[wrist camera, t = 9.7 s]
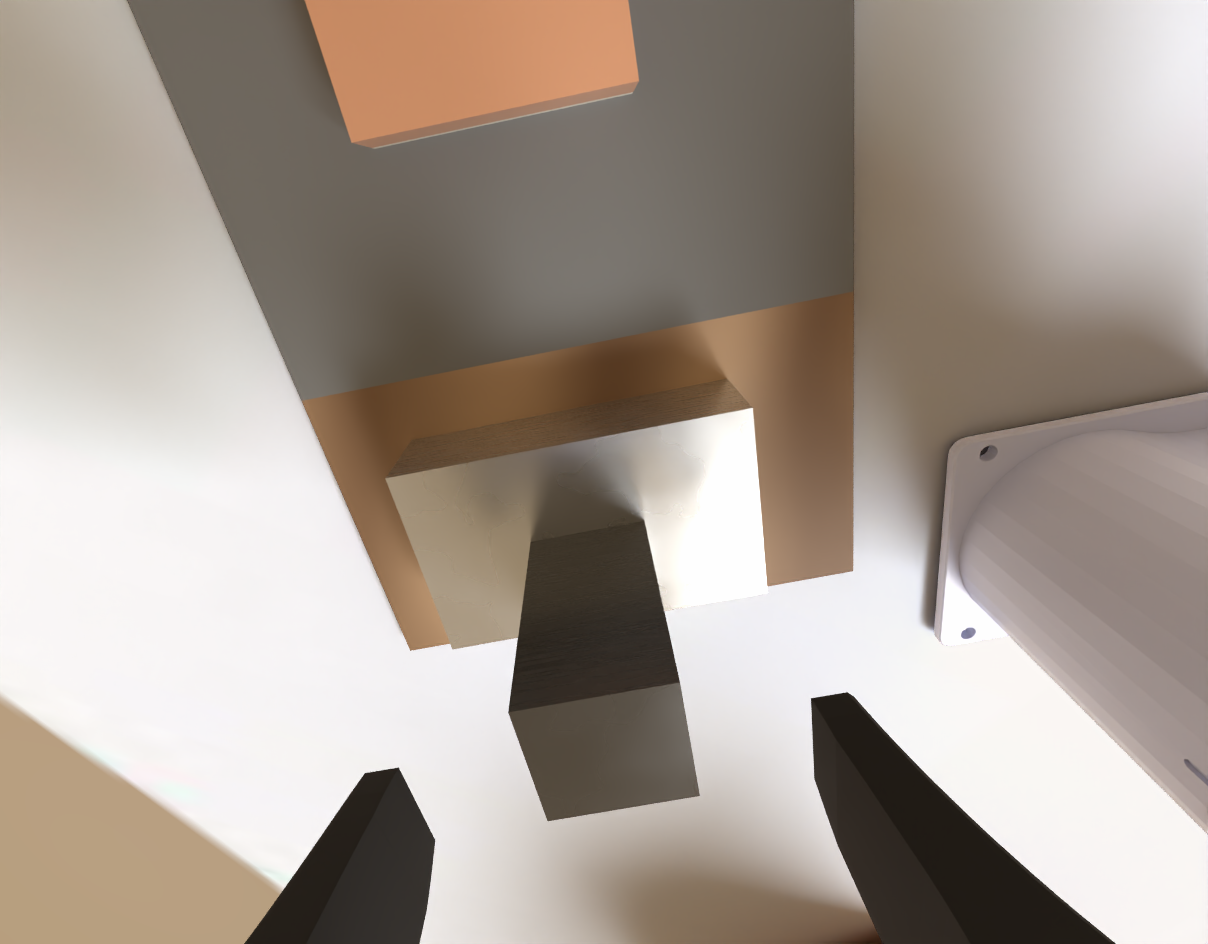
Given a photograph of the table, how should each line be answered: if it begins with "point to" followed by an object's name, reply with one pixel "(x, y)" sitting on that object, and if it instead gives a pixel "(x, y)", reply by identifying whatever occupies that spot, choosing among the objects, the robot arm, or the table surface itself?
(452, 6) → the tile
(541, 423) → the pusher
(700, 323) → the board
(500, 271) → the rubber mat
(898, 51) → the table surface
